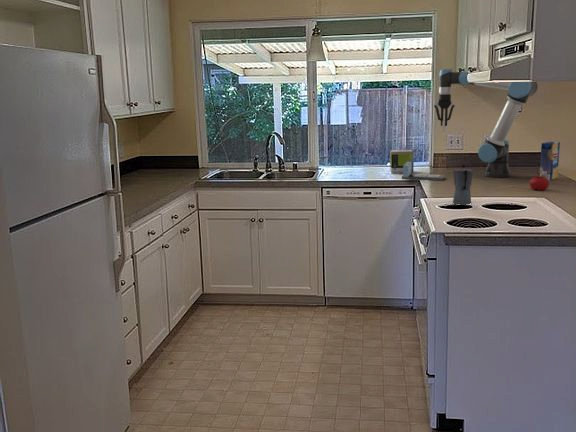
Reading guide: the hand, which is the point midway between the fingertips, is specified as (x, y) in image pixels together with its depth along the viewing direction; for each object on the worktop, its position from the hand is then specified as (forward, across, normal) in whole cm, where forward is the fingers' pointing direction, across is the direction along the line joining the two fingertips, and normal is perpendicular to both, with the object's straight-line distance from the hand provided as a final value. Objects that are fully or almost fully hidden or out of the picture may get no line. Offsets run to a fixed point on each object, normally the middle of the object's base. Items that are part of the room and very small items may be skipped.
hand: (443, 131), depth 392 cm
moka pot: (+29, -26, +99) cm, 106 cm away
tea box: (+29, +28, -4) cm, 40 cm away
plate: (+28, +9, +19) cm, 35 cm away
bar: (+25, +17, +25) cm, 39 cm away
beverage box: (+29, -64, -1) cm, 70 cm away
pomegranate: (+29, -60, +42) cm, 79 cm away
